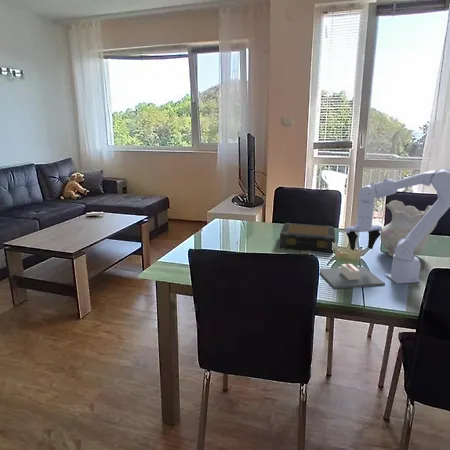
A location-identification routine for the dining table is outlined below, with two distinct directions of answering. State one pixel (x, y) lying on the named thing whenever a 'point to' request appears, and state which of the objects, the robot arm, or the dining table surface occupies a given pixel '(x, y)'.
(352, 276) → the white rectangular block
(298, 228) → the cash box
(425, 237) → the ceramic pitcher
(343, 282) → the slate mat
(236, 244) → the dining table surface
